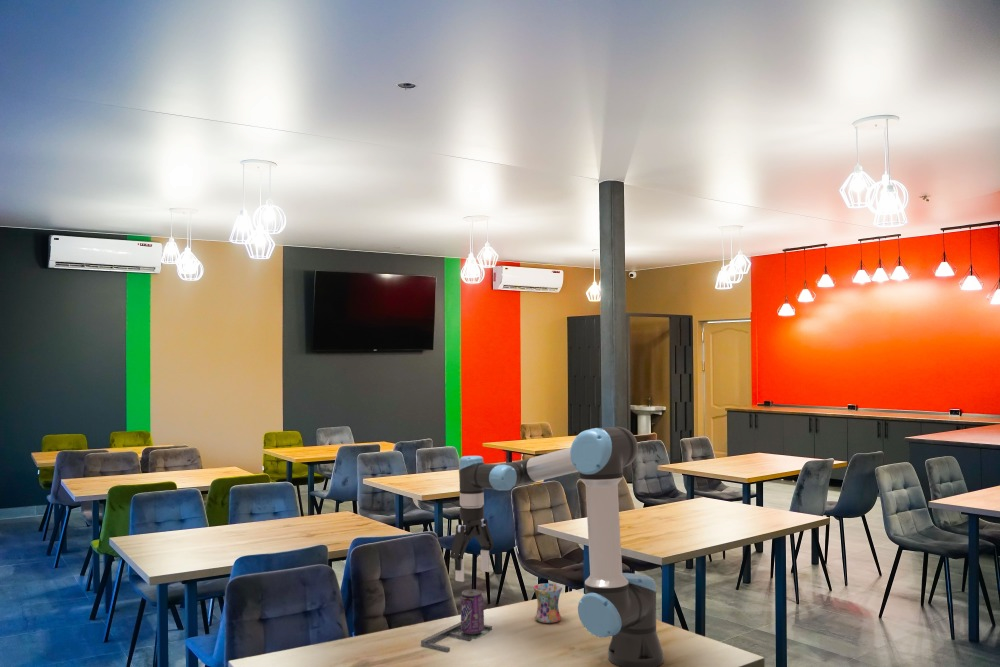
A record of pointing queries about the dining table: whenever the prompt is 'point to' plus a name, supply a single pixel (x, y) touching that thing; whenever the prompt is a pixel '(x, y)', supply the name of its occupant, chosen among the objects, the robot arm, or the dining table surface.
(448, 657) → the dining table surface
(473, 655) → the dining table surface
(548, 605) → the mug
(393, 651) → the dining table surface
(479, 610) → the beverage can
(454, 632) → the grey flat frame
